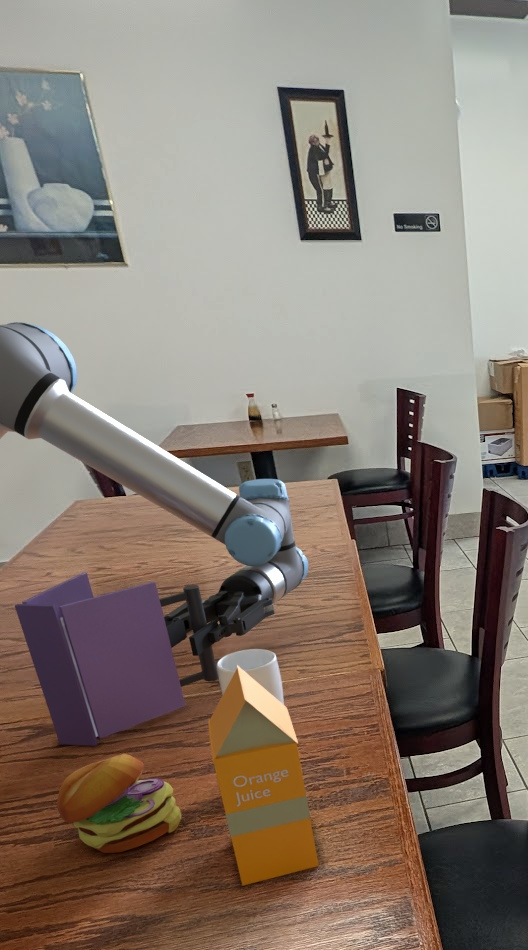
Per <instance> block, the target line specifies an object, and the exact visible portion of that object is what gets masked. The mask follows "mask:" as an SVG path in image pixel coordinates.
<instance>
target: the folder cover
mask: <svg viewBox="0 0 528 950" xmlns="http://www.w3.org/2000/svg"><path fill="white" fill-rule="evenodd" d="M182 589H183V592H180V593H175V594H172V595H167V596H165V597H161V598H160V596H159V591H158V587H157V583H156V582H155V581H150V582H146V583H143V584H139V585H136V586H131V587H127V588H124V589H119V590H115V591H111V592H108V593H104V594H100V595H97V596H93V598H89V599H85V600H81V601H77V602H73V603H70V604H66V605H62V606H59V608H60V611H61V615H62V618H63V621H64V624H65V628H66V631H67V634H68V638H69V641H70V644H71V648H72V651H73V654H74V658H75V661H76V664H77V667H78V671H79V674H80V677H81V681H82V684H83V687H84V691H85V694H86V697H87V701H88V704H89V707H90V710H91V714H92V717H93V720H94V724H95V727H96V730H97V734H98V736H97V737H98V738H99V739H103V738H106V737H108V736H111V735H113V734H116V733H118V732H119V733H120V732H121V731H123V730H124V731H125V730H127V729H129V728H132V727H134V726H137V725H140V724H143V723H146V722H147V721H151V720H152V719H156V718H159V717H161V716H163V715H166V714H168V713H171V712H174V711H177V710H179V709H182V708H184V707H186V702H185V697H184V694H183V689H182V687H185V686H188V685H191V684H194V683H197V682H199V681H202V680H203V681H205V682H214V681H217V680H219V677H218V671H217V662H216V658H215V654H214V649H213V645H211V646H210V647H209V648H208V649H206V650H205V651H204V652H202V653H201V654H200V655H199V656H198V659H199V663H200V668H201V671H199V672H196V673H193V674H190V675H188V676H184V677H181V678H180V677H179V673H178V669H177V665H176V661H175V657H174V652H173V648H171V644H170V640H169V636H168V632H167V628H166V624H165V619H164V616H165V615H164V612H163V607H166V606H169V605H170V606H171V605H173V604H177V603H181V602H184V601H185V602H186V603H187V607H188V612H189V616H190V620H191V625H192V629H193V630H192V633H193V634H194V633H196V632H197V631H198V630H200V629H201V628H203V627H204V626H205V625H207V624H208V623H207V622H206V617H205V613H204V608H203V604H202V600H203V599H202V595H201V590H200V586H199V585H198V584H190V585H186V586H184V587H183V588H182Z"/></svg>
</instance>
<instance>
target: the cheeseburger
mask: <svg viewBox="0 0 528 950" xmlns="http://www.w3.org/2000/svg"><path fill="white" fill-rule="evenodd" d="M144 768H145V765H144V763H143V762H142V761H141V760H140V759H138V758H136V757H135V756H133V755H130V754H127V753H122V754H118V755H114V756H112V757H108V758H105V759H102V760H99V761H95V762H93V763H90V764H87V765H85V766H83V767H80V768H79V769H77V770H74V771H73V772H72V773H70V774H69V775H68V776H67V777H66V778H65V779H64V780H63V782H62V784H61V786H60V787H59V789H58V795H57V801H56V808H57V811H58V813H59V817H60V818H61V820H62V821H64V822H66V823H71V824H72V823H73V825H74V828H75V829H77V831H78V837H79V839H80V841H82V842H83V843H84V844H85V845H87V846H89V847H91V848H93V849H95V850H96V851H99V852H101V853H103V854H111V853H112V854H113V853H122V852H126V851H128V850H133V849H135V848H138V847H140V846H143V845H145V844H148V843H150V842H153V841H154V840H156V839H158V838H160V837H162V836H164V835H165V834H167V833H168V834H170V833H173V832H174V831H175V830H177V829H178V827H179V825H180V823H181V820H182V817H183V814H182V811H181V809H180V807H179V806H178V804H177V803H176V798H175V797H174V795H173V793H174V789H173V787H172V786H171V784H170V783H168V782H167V781H164V780H163V779H162V778H148V779H140V778H141V776H142V774H143V770H144ZM139 779H140V780H139Z"/></svg>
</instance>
